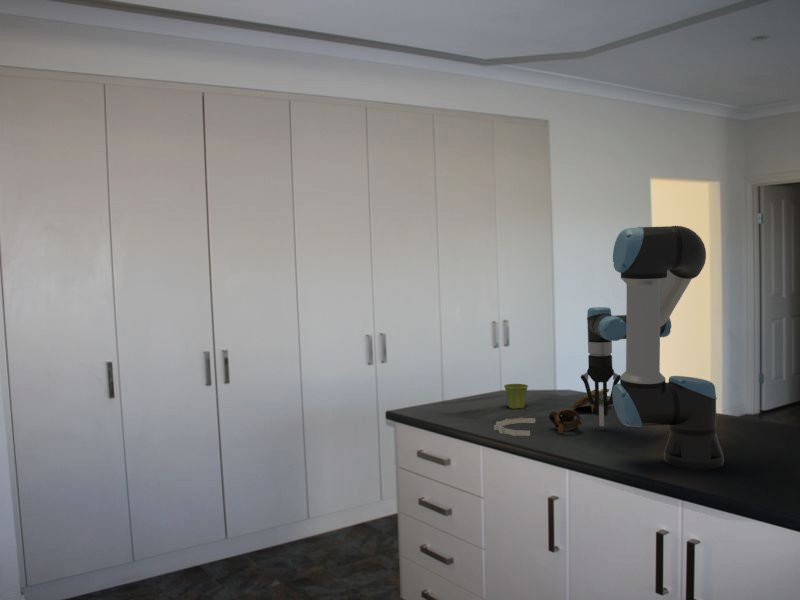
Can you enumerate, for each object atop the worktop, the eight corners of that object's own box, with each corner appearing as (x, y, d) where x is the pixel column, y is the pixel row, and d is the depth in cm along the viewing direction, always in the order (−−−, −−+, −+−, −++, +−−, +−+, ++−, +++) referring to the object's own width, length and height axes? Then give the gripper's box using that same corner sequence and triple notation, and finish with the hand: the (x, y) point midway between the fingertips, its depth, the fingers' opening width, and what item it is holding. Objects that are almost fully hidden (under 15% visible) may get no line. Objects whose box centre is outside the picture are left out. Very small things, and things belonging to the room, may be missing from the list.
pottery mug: (587, 430, 225) (586, 411, 221) (574, 447, 219) (572, 429, 215) (555, 418, 232) (553, 400, 228) (541, 435, 227) (539, 416, 223)
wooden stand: (584, 420, 262) (577, 401, 265) (619, 408, 256) (611, 389, 259) (570, 419, 247) (562, 399, 250) (607, 405, 241) (599, 385, 244)
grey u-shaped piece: (529, 436, 219) (529, 432, 219) (490, 435, 223) (490, 430, 223) (535, 421, 239) (535, 417, 239) (499, 420, 243) (499, 416, 242)
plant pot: (511, 404, 271) (510, 382, 270) (532, 406, 265) (532, 384, 265) (500, 408, 263) (499, 386, 263) (522, 410, 258) (521, 388, 257)
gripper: (620, 352, 223) (622, 423, 224) (580, 352, 227) (581, 421, 228) (621, 355, 216) (622, 428, 217) (579, 355, 220) (581, 427, 221)
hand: (601, 425), depth 222 cm, fingers closed
